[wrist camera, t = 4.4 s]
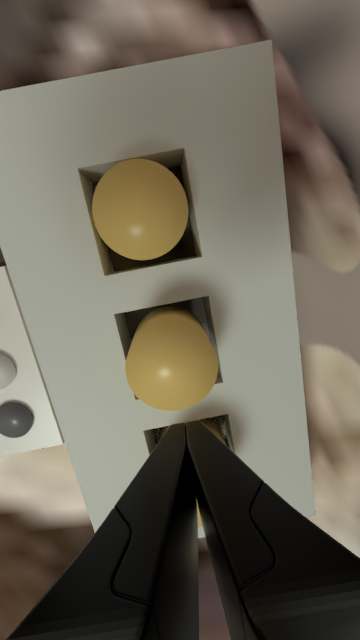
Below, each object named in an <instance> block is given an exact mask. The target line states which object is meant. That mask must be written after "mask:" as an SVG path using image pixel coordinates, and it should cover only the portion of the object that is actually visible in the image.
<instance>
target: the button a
mask: <svg viewBox="0 0 360 640" xmlns="http://www.w3.org/2000/svg"><path fill="white" fill-rule="evenodd" d="M92 214H93V220H94V223H95V226H96V229H97V231H98V233H99V235H100V236H101V238H102V239H103V241H104V242H105V243H106V244H107V245H108V246H109V247H110V248H111V249H112V250H114V251H115V252H116V253H118V254H120V255H122V256H124V257H126V258H130V259H134V260H150V259H154V258H157V257H160V256H162V255H164V254H166V253H167V252H169V251H170V250H171V249H172V248H173V247H174V246H175V245H176V244H177V243H178V242H179V240H180V239H181V237H182V235H183V233H184V231H185V229H186V225H187V221H188V202H187V197H186V194H185V191H184V189H183V187H182V185H181V183H180V182H179V180H178V179H177V178H176V176H175V175H174V174H173V173H172V172H171V171H170V170H168V169H167V168H166V167H164V166H163V165H161V164H159V163H157V162H154V161H151V160H147V159H130V160H126V161H123V162H120V163H118V164H116V165H115V166H113V167H112V168H110V169H109V170H108V171H107V172H106V173H105V174H104V175H103V176H102V178H101V179H100V181H99V182H98V184H97V186H96V189H95V192H94V195H93V200H92Z"/></svg>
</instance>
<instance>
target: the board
mask: <svg viewBox="0 0 360 640" xmlns="http://www.w3.org/2000/svg"><path fill="white" fill-rule="evenodd" d="M130 159H147V160H151V161H154V162H157V163H159V164H161V165H163V166H164V167H166V168H172V167H177V166H181V171H182V177H183V183H184V188H185V194H186V197H187V202H188V212H189V218H190V224H191V229H192V235H193V241H194V247H195V253H196V256H192V257H187V258H181V259H176V260H171V261H166V262H161V263H156V264H151V265H146V266H140V267H135V268H130V269H125V270H120V271H115V272H114V268H113V264H112V260H111V256H110V252H109V248H108V245H107V244H106V243H105V242H104V241H103V239H102V238H101V236H100V235H99V233H98V231H97V229H96V226H95V223H94V220H93V214H92V200H93V195H94V192H95V190H94V185H93V183H94V182H99V181H100V179H101V178H102V176H103V175H104V174H105V173H106V172H107V171H108V170H109V169H110V168H112V167H113V166H115V165H116V164H118V163H120V162H123V161H126V160H130ZM0 247H1V250H2V253H3V256H4V259H5V262H6V265H7V268H8V271H9V274H10V277H11V280H12V283H13V286H14V289H15V292H16V295H17V298H18V301H19V305H20V308H21V311H22V314H23V317H24V320H25V323H26V326H27V329H28V332H29V335H30V338H31V341H32V344H33V347H34V350H35V353H36V356H37V359H38V362H39V365H40V368H41V371H42V374H43V377H44V380H45V383H46V386H47V389H48V392H49V395H50V398H51V401H52V404H53V407H54V410H55V413H56V417H57V420H58V423H59V426H60V429H61V432H62V435H63V438H64V441H65V444H66V447H67V450H68V453H69V456H70V459H71V462H72V465H73V468H74V471H75V474H76V477H77V480H78V483H79V486H80V489H81V492H82V495H83V498H84V501H85V504H86V507H87V510H88V513H89V516H90V519H91V522H92V525H93V529H94V532H96V531H97V529H98V528H99V527H100V525H101V524H102V523H103V521H104V520H105V518H106V517H107V516H108V514H109V513H110V511H111V510H112V509H113V508H114V506H115V504H116V503H117V501H118V500H119V499H120V497H121V496H122V494H123V493H124V491H125V490H126V489H127V487H128V486H129V484H130V483H131V481H132V480H133V478H134V477H135V476H136V474H137V473H138V471H139V470H140V468H141V467H142V466H143V464H144V463H145V461H146V460H147V458H148V457H149V455H150V454H151V453H152V451H153V450H154V448H155V447H156V442H155V438H154V434H153V430H152V429H155V428H160V427H165V426H170V425H172V424H176V423H185V422H188V421H194V420H200V419H205V418H210V417H215V416H220V415H223V417H224V422H225V428H226V434H227V440H228V446H229V449H231V450H232V451H233V452H234V453H235V454H236V455H237V456H238V457H239V458H240V459H241V460H242V461H243V462H244V463H245V464H246V465H247V466H249V467H250V468H251V469H252V470H253V471H254V472H255V473H256V474H257V475H258V476H259V477H260V478H261V479H262V480H263V481H264V483H267V484H268V485H269V486H270V487H271V488H272V489H273V490H274V491H275V492H276V493H277V494H278V495H280V496H281V497H282V498H283V499H284V500H285V501H286V502H287V503H289V504H290V505H291V506H292V507H293V508H294V509H296V510H297V511H298V512H300V513H301V514H302V515H303V516H305V517H307V516H312V515H315V505H314V494H313V483H312V473H311V462H310V451H309V440H308V429H307V418H306V407H305V396H304V385H303V375H302V364H301V353H300V342H299V331H298V322H297V321H298V320H297V309H296V299H295V287H294V277H293V266H292V255H291V244H290V233H289V222H288V211H287V200H286V189H285V179H284V168H283V157H282V146H281V135H280V124H279V113H278V102H277V91H276V81H275V70H274V59H273V48H272V40H266V41H261V42H256V43H251V44H245V45H240V46H235V47H229V48H224V49H219V50H214V51H208V52H203V53H198V54H193V55H187V56H182V57H177V58H171V59H166V60H161V61H156V62H150V63H145V64H140V65H134V66H129V67H124V68H119V69H113V70H108V71H103V72H98V73H92V74H87V75H82V76H76V77H71V78H66V79H61V80H55V81H50V82H45V83H39V84H34V85H29V86H24V87H18V88H13V89H8V90H3V91H0ZM200 297H203V300H204V305H205V311H206V317H207V323H208V329H209V335H210V341H211V344H212V346H213V348H214V350H215V352H216V355H217V359H218V374H217V378H216V381H215V384H214V386H213V388H212V389H211V391H210V392H209V393H208V395H207V396H206V397H205V398H204V399H202V400H201V401H200V402H198V403H197V404H195V405H193V406H191V407H189V408H186V409H182V410H176V411H166V410H160V409H156V408H153V407H151V406H149V405H147V404H145V403H144V402H142V401H141V400H140V399H139V398H138V397H137V396H136V395H135V394H134V393H133V391H132V390H131V388H130V386H129V384H128V381H127V378H126V373H125V365H126V359H127V355H128V352H129V349H130V346H131V339H130V334H129V330H128V326H127V322H126V318H125V314H124V312H129V311H134V310H139V309H144V308H149V307H154V306H159V305H164V304H169V303H174V302H180V301H185V300H190V299H195V298H200ZM203 537H205V533H204V529H203V527H198V538H203Z"/></svg>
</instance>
